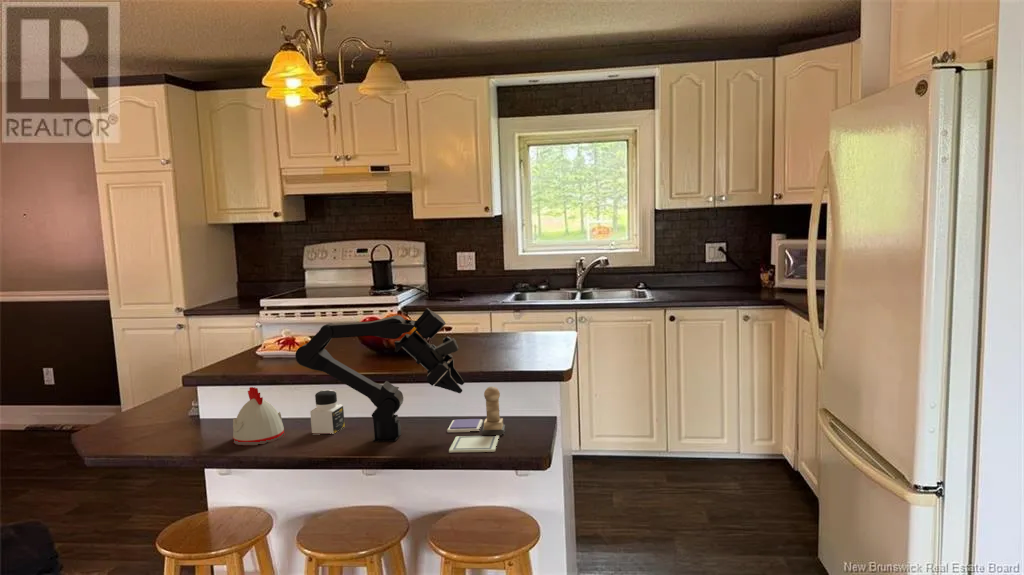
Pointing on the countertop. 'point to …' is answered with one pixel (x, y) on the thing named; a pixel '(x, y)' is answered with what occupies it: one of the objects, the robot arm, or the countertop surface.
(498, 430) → the hand stamp
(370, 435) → the countertop surface
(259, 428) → the kitchen timer
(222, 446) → the countertop surface
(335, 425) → the medicine bottle
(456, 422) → the ink pad
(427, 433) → the countertop surface
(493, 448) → the marked board
